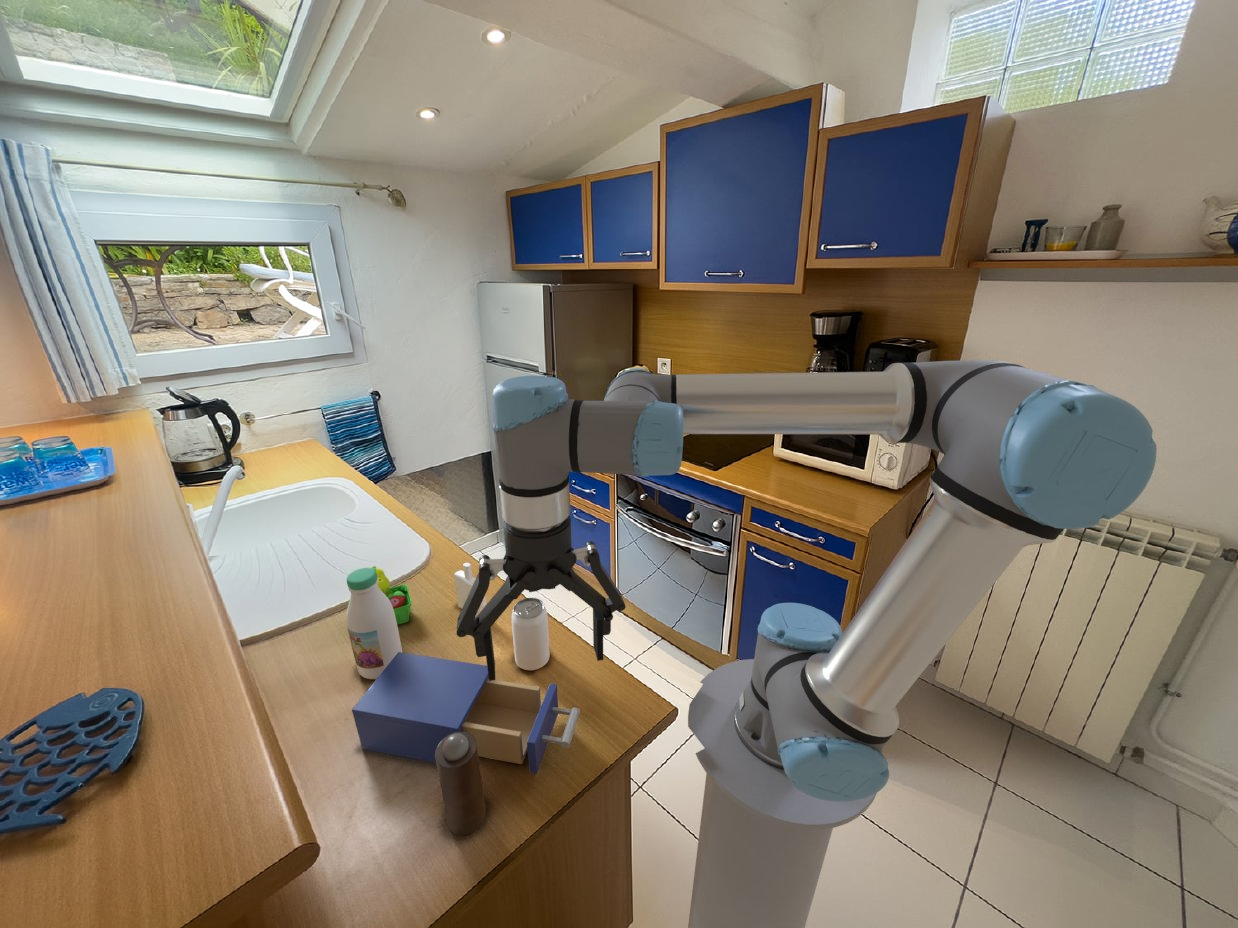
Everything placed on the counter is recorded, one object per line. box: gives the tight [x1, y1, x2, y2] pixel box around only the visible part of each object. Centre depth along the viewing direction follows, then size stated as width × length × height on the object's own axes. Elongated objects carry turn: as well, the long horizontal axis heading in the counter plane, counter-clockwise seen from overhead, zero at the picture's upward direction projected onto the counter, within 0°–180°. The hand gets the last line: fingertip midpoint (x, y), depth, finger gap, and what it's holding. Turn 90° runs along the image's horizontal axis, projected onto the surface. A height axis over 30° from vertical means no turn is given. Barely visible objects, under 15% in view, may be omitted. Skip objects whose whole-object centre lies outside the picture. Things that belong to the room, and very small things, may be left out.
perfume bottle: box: [453, 562, 487, 617], centre depth 103 cm, size 8×2×12 cm, turn 52°
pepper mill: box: [435, 732, 487, 837], centre depth 64 cm, size 5×5×15 cm
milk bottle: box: [345, 567, 404, 680], centre depth 87 cm, size 8×8×20 cm
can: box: [511, 597, 550, 672], centre depth 91 cm, size 6×6×12 cm
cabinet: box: [351, 651, 489, 764], centre depth 78 cm, size 17×12×8 cm
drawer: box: [461, 679, 581, 775], centre depth 76 cm, size 20×11×6 cm, turn 80°
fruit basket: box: [347, 565, 412, 626], centre depth 100 cm, size 11×9×11 cm
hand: (546, 662), depth 63 cm, fingers open, 13 cm apart
